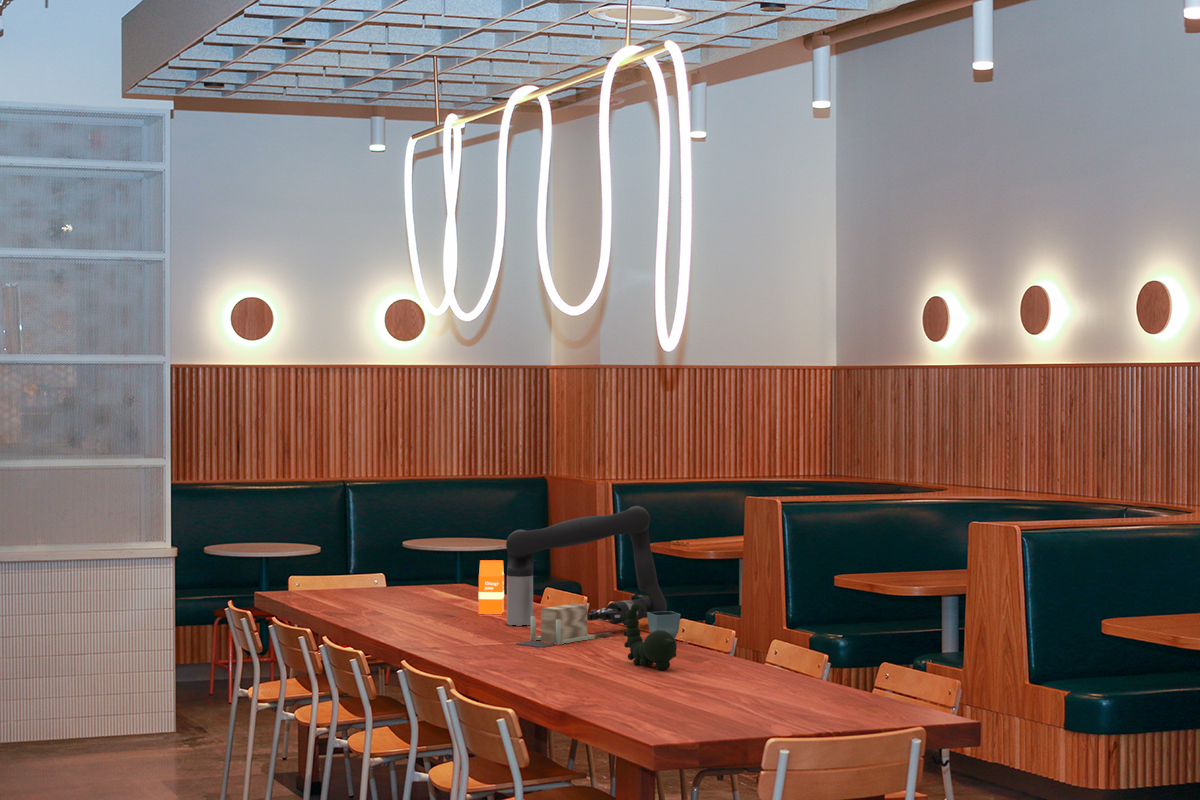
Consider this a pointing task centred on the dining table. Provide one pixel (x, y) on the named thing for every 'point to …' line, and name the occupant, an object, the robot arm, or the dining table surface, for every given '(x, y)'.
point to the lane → (603, 634)
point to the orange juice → (491, 587)
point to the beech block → (563, 622)
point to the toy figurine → (648, 642)
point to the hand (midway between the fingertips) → (588, 617)
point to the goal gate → (558, 633)
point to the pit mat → (535, 644)
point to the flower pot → (664, 622)
